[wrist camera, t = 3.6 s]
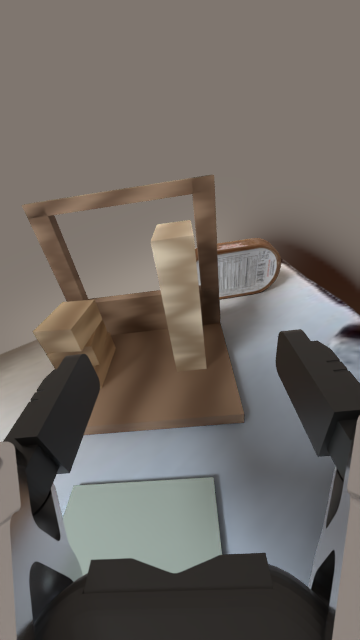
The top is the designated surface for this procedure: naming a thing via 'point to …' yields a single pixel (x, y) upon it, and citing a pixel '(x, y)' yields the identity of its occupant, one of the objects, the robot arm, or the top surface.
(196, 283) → the pale wooden block
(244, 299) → the top surface
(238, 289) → the tin
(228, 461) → the top surface
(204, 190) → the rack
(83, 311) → the offcut top
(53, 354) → the offcut mid
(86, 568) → the mat
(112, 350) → the offcut low
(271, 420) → the top surface
